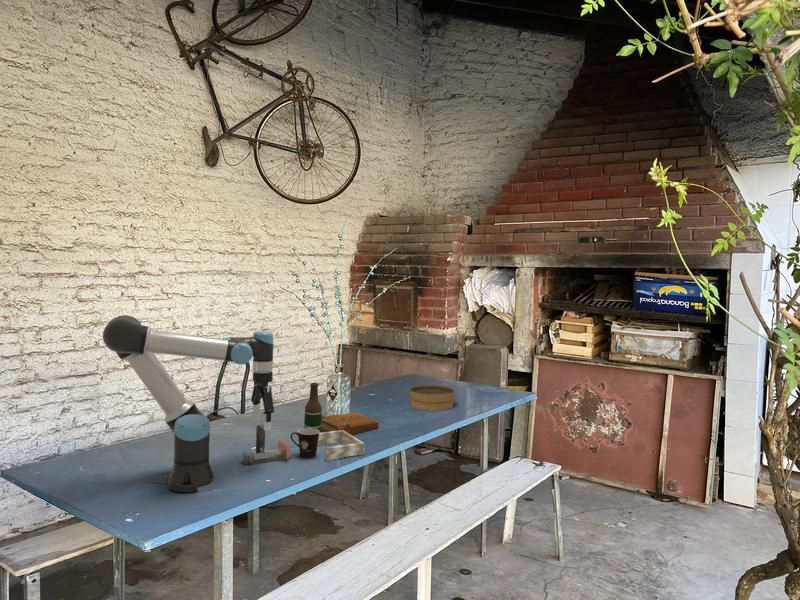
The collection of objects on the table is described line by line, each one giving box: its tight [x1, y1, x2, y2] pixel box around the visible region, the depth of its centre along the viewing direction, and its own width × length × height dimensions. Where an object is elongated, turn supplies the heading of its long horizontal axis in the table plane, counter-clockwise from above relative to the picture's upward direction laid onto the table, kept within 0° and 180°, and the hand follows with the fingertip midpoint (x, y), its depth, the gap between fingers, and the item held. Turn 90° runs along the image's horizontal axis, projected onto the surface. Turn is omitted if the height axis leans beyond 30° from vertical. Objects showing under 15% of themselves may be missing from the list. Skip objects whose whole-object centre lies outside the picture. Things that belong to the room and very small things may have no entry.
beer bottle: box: [303, 382, 323, 433], centre depth 259 cm, size 8×8×24 cm
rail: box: [242, 451, 293, 466], centre depth 225 cm, size 19×4×4 cm, turn 122°
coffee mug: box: [290, 428, 320, 459], centre depth 233 cm, size 12×9×10 cm
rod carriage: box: [250, 424, 291, 460], centre depth 225 cm, size 13×10×12 cm
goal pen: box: [317, 430, 366, 461], centre depth 240 cm, size 17×20×5 cm
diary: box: [321, 411, 380, 436], centre depth 271 cm, size 23×19×6 cm
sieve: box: [408, 384, 456, 411], centre depth 318 cm, size 25×25×11 cm
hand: (261, 425), depth 222 cm, fingers open, 13 cm apart
